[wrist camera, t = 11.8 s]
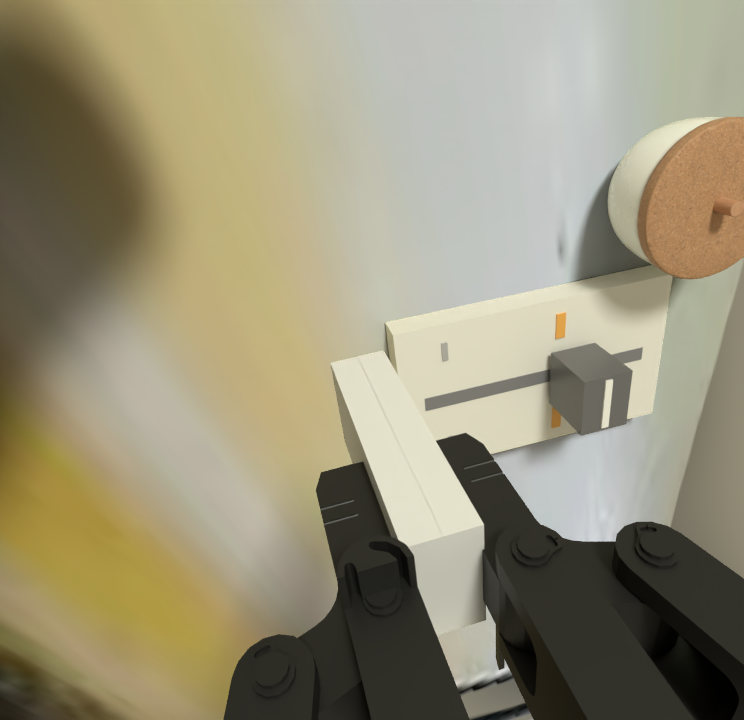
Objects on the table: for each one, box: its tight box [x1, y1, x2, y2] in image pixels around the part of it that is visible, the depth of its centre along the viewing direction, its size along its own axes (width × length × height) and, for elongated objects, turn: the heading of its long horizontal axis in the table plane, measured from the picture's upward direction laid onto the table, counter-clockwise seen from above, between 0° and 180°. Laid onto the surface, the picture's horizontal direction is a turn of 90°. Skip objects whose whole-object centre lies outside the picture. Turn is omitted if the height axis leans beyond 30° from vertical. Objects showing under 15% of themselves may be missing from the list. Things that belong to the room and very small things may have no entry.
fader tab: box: [549, 343, 633, 435], centre depth 45 cm, size 4×5×5 cm
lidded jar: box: [608, 117, 744, 279], centre depth 40 cm, size 11×11×9 cm
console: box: [385, 265, 673, 454], centre depth 48 cm, size 24×14×3 cm, turn 97°
